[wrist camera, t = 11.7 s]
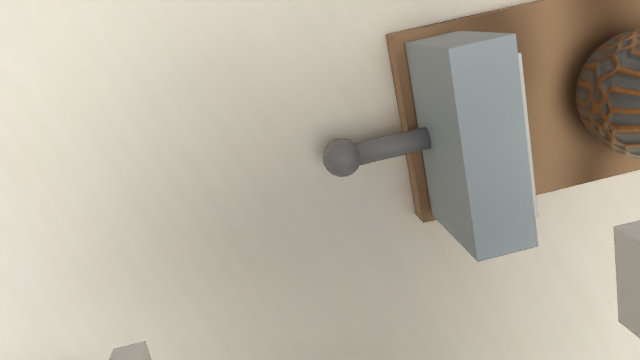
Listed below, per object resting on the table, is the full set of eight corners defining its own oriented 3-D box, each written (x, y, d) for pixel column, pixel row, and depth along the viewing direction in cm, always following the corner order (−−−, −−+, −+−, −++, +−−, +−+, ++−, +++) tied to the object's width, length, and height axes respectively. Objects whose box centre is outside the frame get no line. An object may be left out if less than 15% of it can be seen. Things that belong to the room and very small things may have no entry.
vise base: (416, 214, 35) (467, 272, 27) (385, 34, 32) (433, 39, 24) (745, 134, 37) (886, 166, 29) (747, -46, 34) (906, -67, 26)
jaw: (337, 238, 33) (360, 290, 27) (301, 66, 30) (316, 78, 24) (491, 200, 34) (550, 243, 27) (469, 28, 31) (529, 30, 24)
